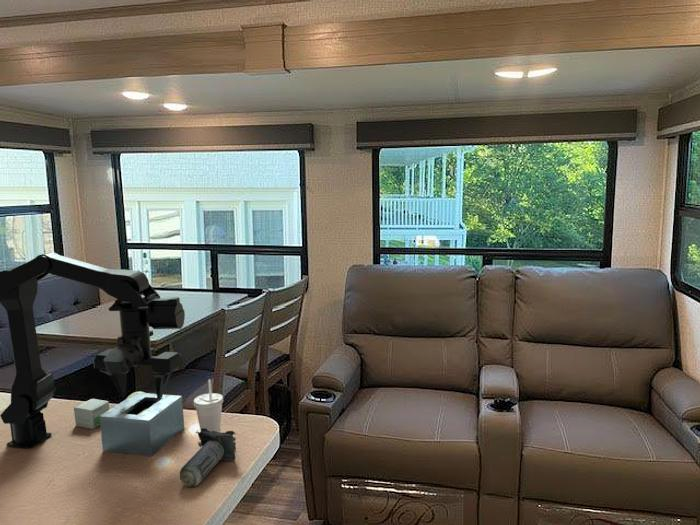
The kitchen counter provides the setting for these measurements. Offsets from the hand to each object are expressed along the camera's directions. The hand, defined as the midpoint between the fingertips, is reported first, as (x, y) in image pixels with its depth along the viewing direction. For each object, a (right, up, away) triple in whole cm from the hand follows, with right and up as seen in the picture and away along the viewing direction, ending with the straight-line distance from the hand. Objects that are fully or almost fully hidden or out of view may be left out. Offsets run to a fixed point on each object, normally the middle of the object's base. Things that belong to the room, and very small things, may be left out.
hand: (141, 397), depth 118 cm
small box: (-16, -9, +11) cm, 22 cm away
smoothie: (+15, -10, 0) cm, 18 cm away
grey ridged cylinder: (+18, -12, -13) cm, 25 cm away
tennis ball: (-6, -8, +14) cm, 17 cm away
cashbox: (0, -10, +1) cm, 10 cm away
